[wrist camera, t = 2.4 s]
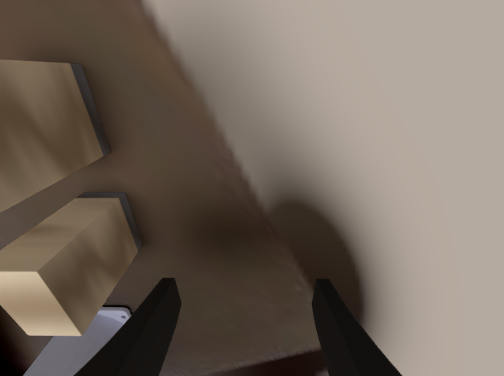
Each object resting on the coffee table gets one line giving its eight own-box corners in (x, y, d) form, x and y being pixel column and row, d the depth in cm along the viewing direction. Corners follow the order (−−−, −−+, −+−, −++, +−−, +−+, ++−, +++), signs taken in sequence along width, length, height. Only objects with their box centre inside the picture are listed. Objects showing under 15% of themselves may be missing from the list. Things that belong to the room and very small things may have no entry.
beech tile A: (142, 244, 18) (81, 336, 12) (107, 244, 18) (28, 335, 12) (124, 192, 15) (36, 271, 9) (84, 192, 16) (-31, 271, 9)
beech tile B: (111, 152, 14) (-4, 214, 8) (66, 152, 14) (-82, 214, 8) (81, 63, 12) (-116, 53, 6) (27, 65, 12) (-227, 56, 6)
